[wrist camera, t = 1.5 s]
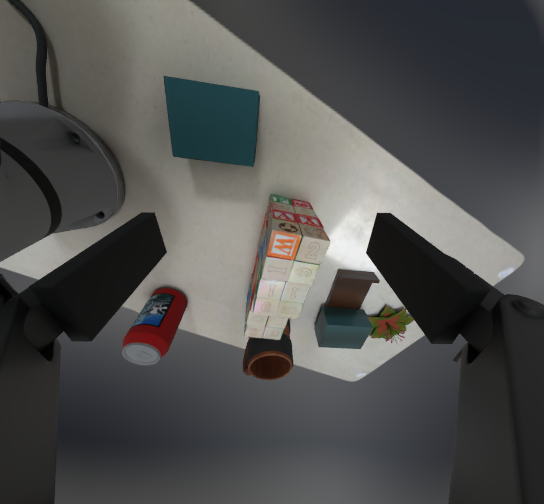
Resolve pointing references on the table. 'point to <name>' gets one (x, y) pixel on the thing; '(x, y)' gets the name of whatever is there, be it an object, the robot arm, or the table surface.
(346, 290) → the teal lidded box
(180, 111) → the block
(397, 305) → the table surface
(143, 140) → the table surface
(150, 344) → the beverage can
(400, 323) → the lily flower
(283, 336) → the mug
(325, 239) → the stack of blocks
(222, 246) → the table surface
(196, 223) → the table surface
